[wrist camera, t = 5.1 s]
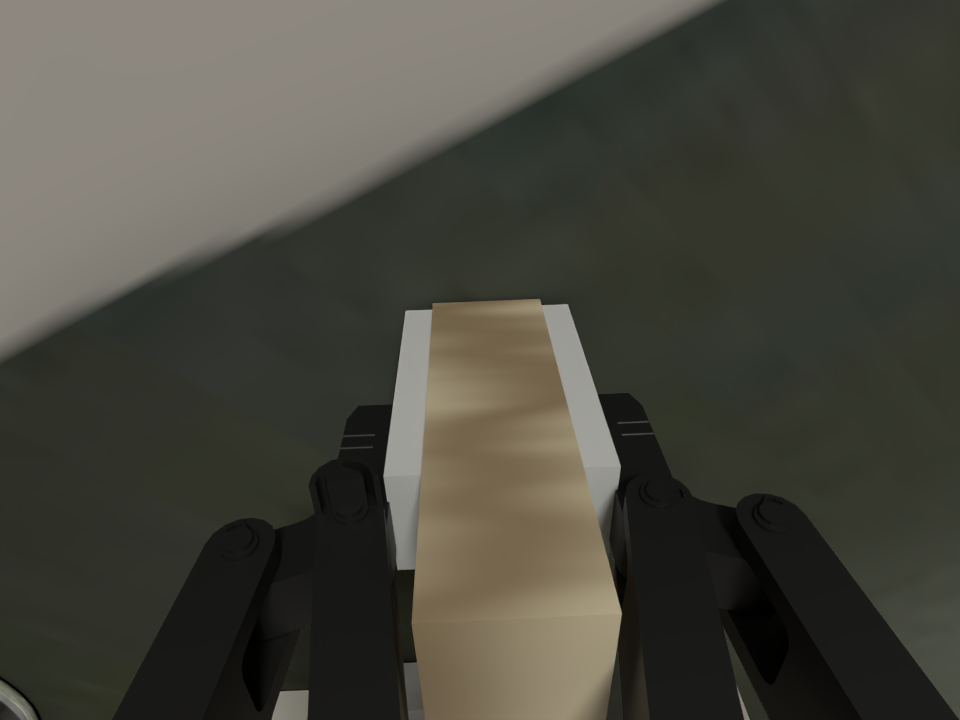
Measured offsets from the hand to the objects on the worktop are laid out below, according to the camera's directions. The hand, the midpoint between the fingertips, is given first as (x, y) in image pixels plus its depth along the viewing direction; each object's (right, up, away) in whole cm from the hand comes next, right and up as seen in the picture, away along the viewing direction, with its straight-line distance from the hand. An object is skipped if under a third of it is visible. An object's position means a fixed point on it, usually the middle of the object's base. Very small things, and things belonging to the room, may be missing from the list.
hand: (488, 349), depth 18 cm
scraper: (0, -6, +4) cm, 8 cm away
